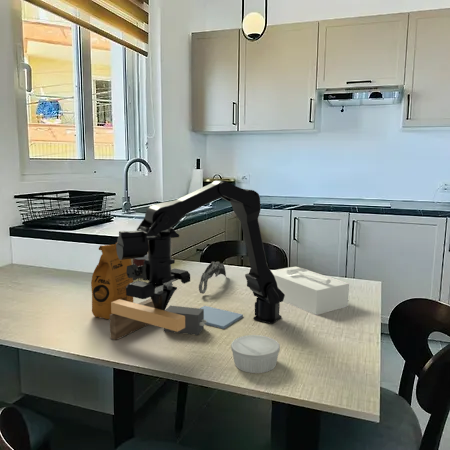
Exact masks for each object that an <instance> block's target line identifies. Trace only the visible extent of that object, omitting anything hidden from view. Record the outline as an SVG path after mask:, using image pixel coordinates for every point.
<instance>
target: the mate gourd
mask: <svg viewBox="0 0 450 450" xmlns="http://www.w3.org/2000/svg"><path fill="white" fill-rule="evenodd" d="M146 259H148V253H147V255H145V256H144V257H143V258H134V259H132V265H133V264H136V265H137V267H139V266H142V265H144V261H145V260H146Z"/></svg>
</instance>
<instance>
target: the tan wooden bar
mask: <svg viewBox="0 0 450 450" xmlns="http://www.w3.org/2000/svg"><path fill="white" fill-rule="evenodd" d="M111 313H113V314H116V315H120V316H123V317H127V318H130V319H134V320H137V321H141V322H144V323H148V324H149V325H152V326H155V327H160V328H161V329H164V328H166V329H169V330H173V331H176V332H178V331H180V330H182V329H184V328H185V316H184V315H180V314H176V313H172V312H168V311H164V310H160V309H156V308H152V307H148V306H144V305H140V304H138V303H136V302H134V301H133V302H129V301H125V300H121V299H119V300H116V301H113V302H111Z"/></svg>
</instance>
